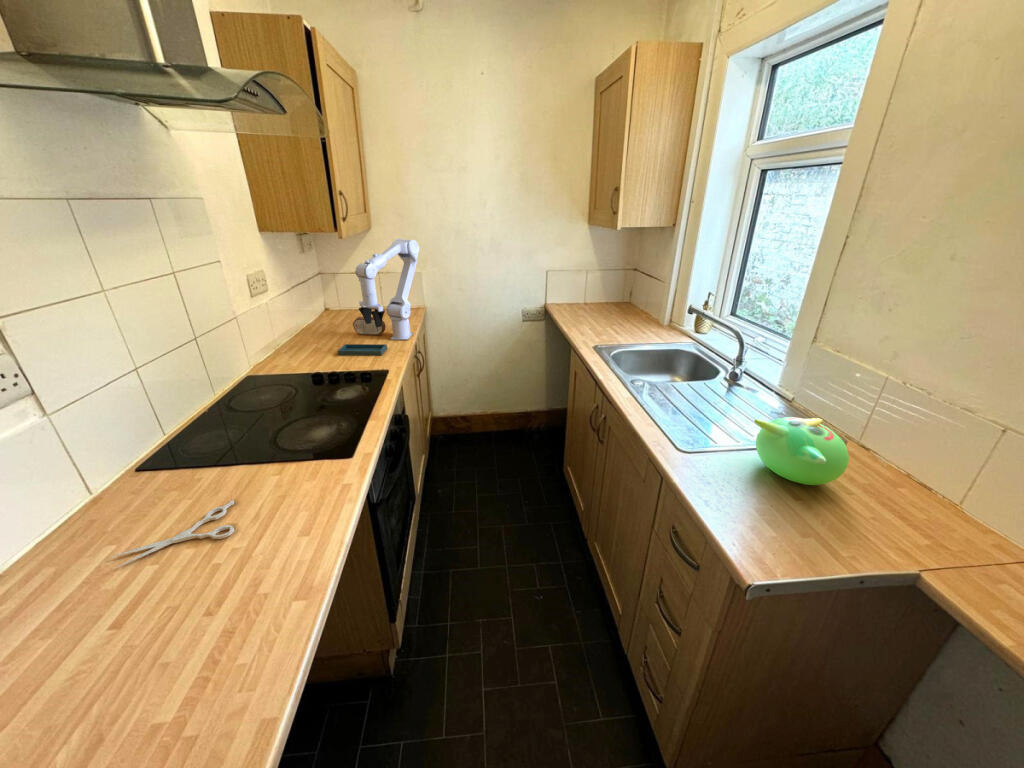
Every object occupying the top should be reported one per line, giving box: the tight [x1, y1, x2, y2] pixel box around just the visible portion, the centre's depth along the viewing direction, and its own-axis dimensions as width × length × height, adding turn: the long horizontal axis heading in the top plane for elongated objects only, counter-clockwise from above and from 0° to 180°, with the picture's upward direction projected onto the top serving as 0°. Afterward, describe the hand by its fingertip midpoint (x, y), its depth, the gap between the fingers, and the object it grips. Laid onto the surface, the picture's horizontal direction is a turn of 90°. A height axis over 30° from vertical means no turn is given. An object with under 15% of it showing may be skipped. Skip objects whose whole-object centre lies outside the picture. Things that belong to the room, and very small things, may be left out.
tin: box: [352, 316, 387, 336], centre depth 196 cm, size 15×3×8 cm, turn 84°
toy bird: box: [753, 416, 850, 486], centre depth 95 cm, size 18×17×15 cm
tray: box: [337, 343, 388, 357], centre depth 175 cm, size 8×18×2 cm, turn 89°
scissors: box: [111, 499, 235, 569], centre depth 80 cm, size 11×1×20 cm
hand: (373, 325), depth 178 cm, fingers open, 7 cm apart
